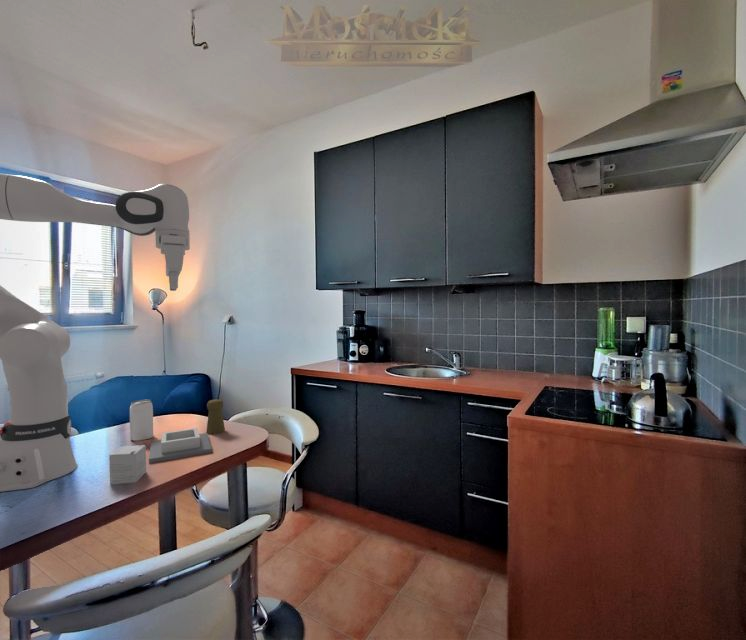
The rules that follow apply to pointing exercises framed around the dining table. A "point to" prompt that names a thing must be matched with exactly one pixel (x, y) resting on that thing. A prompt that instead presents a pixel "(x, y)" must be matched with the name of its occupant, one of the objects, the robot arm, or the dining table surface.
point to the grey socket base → (179, 445)
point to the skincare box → (127, 464)
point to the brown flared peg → (215, 417)
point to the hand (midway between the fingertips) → (173, 289)
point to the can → (141, 420)
